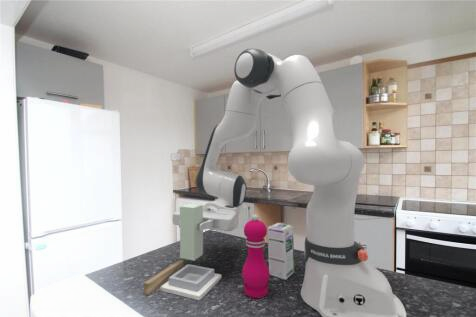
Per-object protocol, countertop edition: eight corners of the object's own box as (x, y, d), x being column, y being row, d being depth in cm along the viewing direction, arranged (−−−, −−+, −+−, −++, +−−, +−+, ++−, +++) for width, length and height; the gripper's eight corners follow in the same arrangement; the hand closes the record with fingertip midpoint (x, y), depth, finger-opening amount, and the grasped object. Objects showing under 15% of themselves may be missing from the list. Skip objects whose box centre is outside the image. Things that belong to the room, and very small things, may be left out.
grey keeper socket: (221, 278, 70) (221, 267, 70) (199, 300, 59) (199, 288, 59) (186, 271, 75) (186, 261, 75) (160, 290, 64) (160, 279, 64)
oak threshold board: (183, 270, 75) (183, 260, 75) (148, 295, 61) (148, 283, 61) (179, 269, 76) (179, 260, 76) (143, 294, 62) (143, 282, 62)
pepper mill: (268, 300, 59) (267, 218, 59) (239, 297, 60) (238, 217, 60) (270, 285, 66) (270, 211, 66) (244, 283, 67) (243, 211, 67)
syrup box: (286, 280, 68) (285, 229, 68) (268, 274, 72) (267, 225, 72) (294, 272, 73) (294, 224, 73) (277, 267, 77) (276, 221, 77)
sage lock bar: (203, 254, 68) (202, 204, 68) (194, 260, 64) (193, 207, 64) (189, 251, 70) (189, 203, 70) (180, 257, 66) (179, 206, 66)
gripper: (187, 203, 83) (159, 211, 70) (242, 207, 75) (222, 218, 62) (187, 221, 83) (159, 233, 70) (242, 228, 75) (222, 242, 62)
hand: (189, 226), depth 66 cm, fingers closed on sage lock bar, 4 cm apart
